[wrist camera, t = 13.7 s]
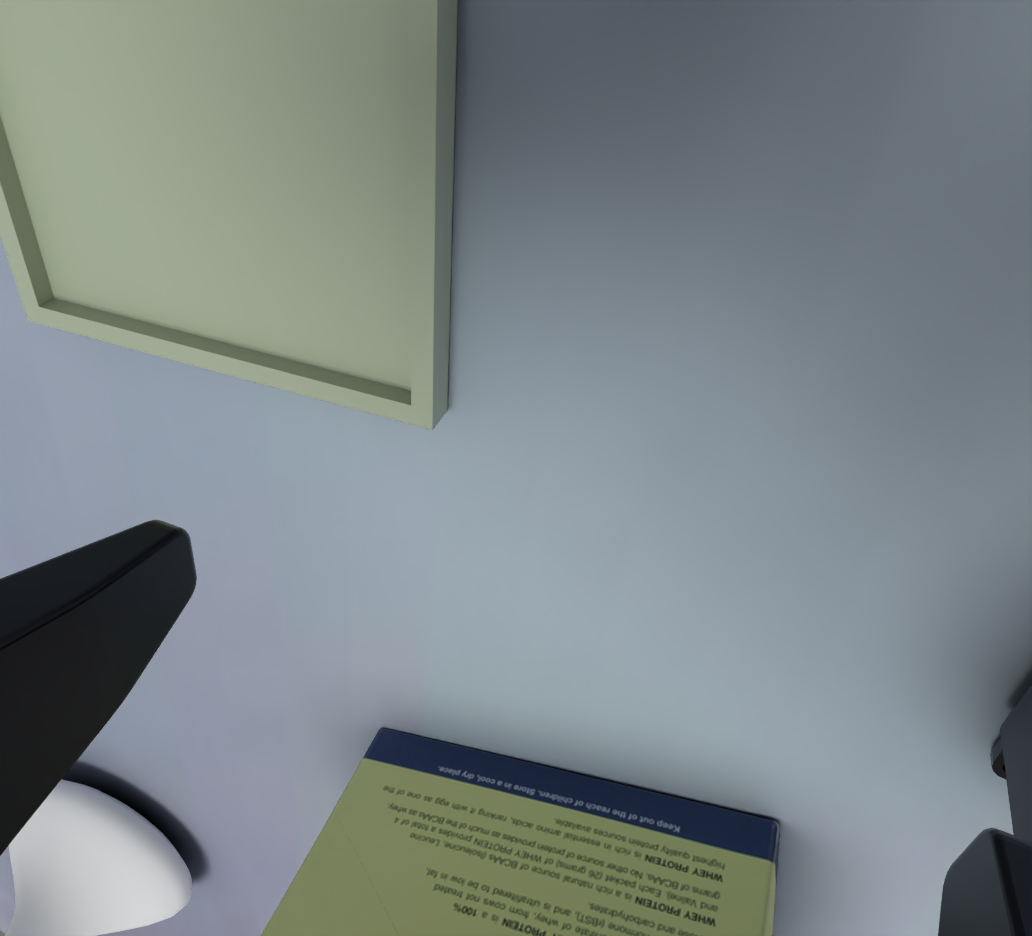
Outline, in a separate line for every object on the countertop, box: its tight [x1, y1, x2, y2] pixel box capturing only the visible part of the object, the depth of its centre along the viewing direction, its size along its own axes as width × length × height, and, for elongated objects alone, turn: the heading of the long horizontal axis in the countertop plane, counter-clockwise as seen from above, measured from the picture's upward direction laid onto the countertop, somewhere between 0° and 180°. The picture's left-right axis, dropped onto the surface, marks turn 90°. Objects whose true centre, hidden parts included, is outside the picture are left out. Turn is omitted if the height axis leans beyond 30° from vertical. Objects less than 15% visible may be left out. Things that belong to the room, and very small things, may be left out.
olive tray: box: [0, 0, 458, 430], centre depth 20 cm, size 13×13×1 cm
